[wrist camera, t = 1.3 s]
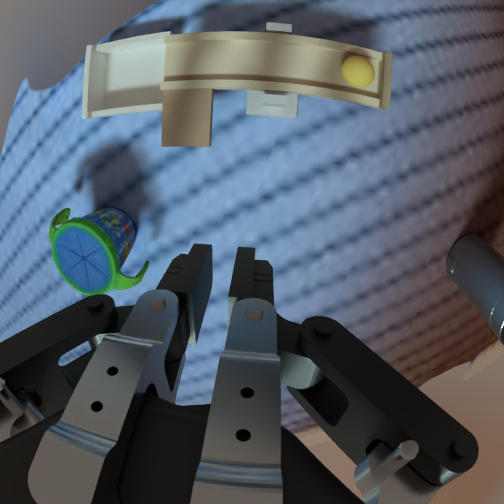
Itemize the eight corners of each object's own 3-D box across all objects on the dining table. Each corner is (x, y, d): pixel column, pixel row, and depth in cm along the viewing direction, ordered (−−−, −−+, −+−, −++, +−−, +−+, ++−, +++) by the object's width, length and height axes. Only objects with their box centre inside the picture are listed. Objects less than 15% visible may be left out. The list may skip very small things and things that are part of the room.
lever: (381, 58, 21) (392, 53, 19) (372, 162, 27) (381, 166, 24) (170, 40, 22) (161, 33, 19) (165, 145, 27) (155, 148, 25)
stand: (301, 38, 26) (311, 17, 19) (295, 118, 31) (304, 118, 24) (252, 33, 26) (248, 12, 19) (246, 114, 31) (241, 113, 24)
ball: (368, 63, 21) (380, 58, 18) (367, 91, 22) (379, 89, 20) (338, 56, 21) (347, 49, 18) (336, 85, 23) (345, 81, 20)
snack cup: (69, 225, 39) (32, 253, 30) (92, 173, 35) (49, 193, 26) (140, 281, 43) (115, 321, 34) (172, 235, 39) (147, 271, 30)
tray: (180, 39, 26) (167, 28, 22) (175, 110, 31) (161, 109, 27) (106, 51, 27) (86, 45, 22) (102, 117, 31) (82, 119, 27)
